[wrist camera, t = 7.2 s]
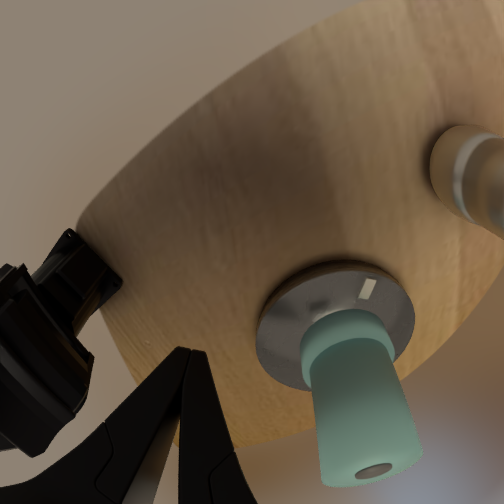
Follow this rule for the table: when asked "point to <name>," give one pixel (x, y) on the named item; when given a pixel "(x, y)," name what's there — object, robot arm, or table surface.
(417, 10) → the table surface
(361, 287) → the turntable
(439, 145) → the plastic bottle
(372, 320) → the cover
